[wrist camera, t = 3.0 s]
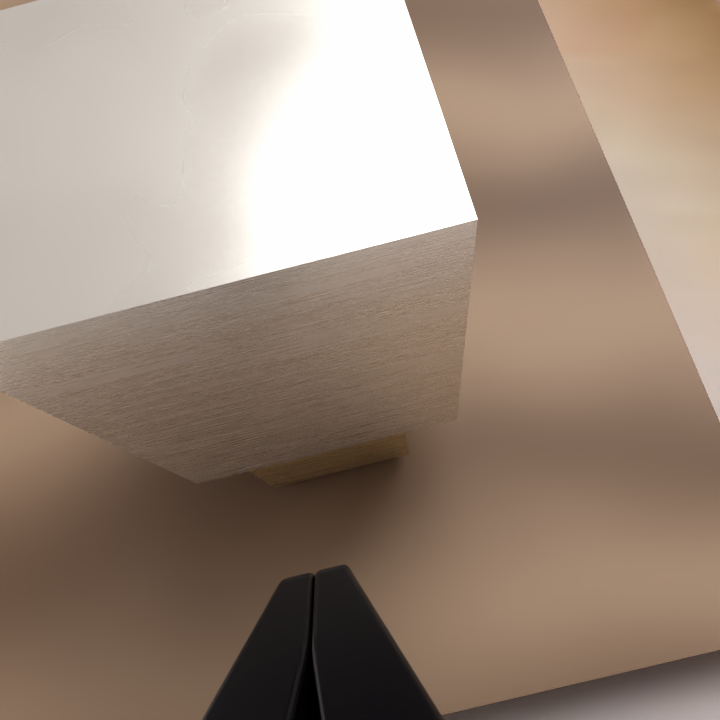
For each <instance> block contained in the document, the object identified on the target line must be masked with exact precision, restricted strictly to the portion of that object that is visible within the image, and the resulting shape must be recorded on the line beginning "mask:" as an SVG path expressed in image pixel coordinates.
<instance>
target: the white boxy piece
mask: <svg viewBox="0 0 720 720" xmlns="http://www.w3.org/2000/svg"><path fill="white" fill-rule="evenodd" d="M476 229H477V216H476V213H475V210H474V207H473V204H472V201H471V198H470V195H469V192H468V189H467V186H466V183H465V180H464V177H463V174H462V171H461V168H460V165H459V162H458V159H457V157H456V154H455V151H454V148H453V145H452V142H451V139H450V136H449V133H448V130H447V127H446V124H445V121H444V118H443V115H442V112H441V109H440V106H439V103H438V100H437V97H436V94H435V91H434V88H433V85H432V82H431V79H430V76H429V73H428V70H427V67H426V64H425V61H424V58H423V55H422V52H421V49H420V46H419V43H418V40H417V37H416V34H415V31H414V28H413V25H412V22H411V19H410V16H409V13H408V10H407V7H406V4H405V1H404V0H37V1H33V2H30V3H26V4H22V5H19V6H15V7H11V8H7V9H4V10H0V391H1V392H3V393H5V394H7V395H9V396H11V397H13V398H16V399H18V400H20V401H22V402H24V403H26V404H28V405H30V406H33V407H35V408H37V409H39V410H41V411H43V412H45V413H48V414H50V415H52V416H54V417H56V418H58V419H60V420H62V421H65V422H67V423H69V424H71V425H73V426H75V427H77V428H79V429H82V430H84V431H86V432H88V433H90V434H92V435H94V436H96V437H99V438H101V439H103V440H105V441H107V442H109V443H111V444H113V445H116V446H118V447H120V448H122V449H124V450H126V451H128V452H130V453H133V454H135V455H137V456H139V457H141V458H143V459H145V460H147V461H150V462H152V463H154V464H156V465H158V466H160V467H162V468H165V469H167V470H169V471H171V472H173V473H175V474H177V475H179V476H182V477H184V478H186V479H188V480H190V481H192V482H194V483H196V484H199V483H203V482H207V481H211V480H215V479H219V478H223V477H227V476H231V475H235V474H239V473H243V472H248V471H249V472H251V473H252V474H254V475H255V476H257V477H258V478H260V479H261V480H263V481H264V482H266V483H267V484H269V485H270V486H272V487H273V488H274V487H278V486H282V485H286V484H290V483H295V482H299V481H303V480H307V479H311V478H315V477H319V476H323V475H327V474H331V473H335V472H339V471H343V470H347V469H351V468H355V467H359V466H363V465H368V464H372V463H376V462H380V461H384V460H388V459H392V458H396V457H400V456H404V455H408V454H409V451H408V446H407V441H406V436H405V432H409V431H413V430H417V429H421V428H425V427H429V426H433V425H437V424H441V423H445V422H449V421H453V420H457V416H458V406H459V396H460V387H461V377H462V367H463V357H464V347H465V337H466V327H467V318H468V308H469V298H470V288H471V278H472V268H473V258H474V249H475V239H476Z"/></svg>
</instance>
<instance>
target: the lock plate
mask: <svg viewBox="0 0 720 720" xmlns="http://www.w3.org/2000/svg"><path fill="white" fill-rule="evenodd" d="M33 1H37V0H0V10H4V9H7V8H11V7H15V6H19V5H22V4H26V3H30V2H33ZM404 1H405V4H406V7H407V10H408V13H409V16H410V19H411V22H412V25H413V28H414V31H415V34H416V37H417V40H418V43H419V46H420V49H421V52H422V55H423V58H424V61H425V64H426V67H427V70H428V73H429V76H430V79H431V82H432V85H433V88H434V91H435V94H436V97H437V100H438V103H439V106H440V109H441V112H442V115H443V118H444V121H445V124H446V127H447V130H448V133H449V136H450V139H451V142H452V145H453V148H454V151H455V154H456V157H457V159H458V162H459V165H460V168H461V171H462V174H463V177H464V180H465V183H466V186H467V189H468V192H469V195H470V198H471V201H472V204H473V207H474V210H475V213H476V216H477V229H476V239H475V249H474V258H473V268H472V278H471V288H470V298H469V308H468V318H467V327H466V337H465V347H464V357H463V367H462V377H461V387H460V396H459V406H458V416H457V420H453V421H449V422H445V423H441V424H437V425H433V426H429V427H425V428H421V429H417V430H413V431H409V432H405V436H406V441H407V446H408V451H409V454H408V455H404V456H400V457H396V458H392V459H388V460H384V461H380V462H376V463H372V464H368V465H363V466H359V467H355V468H351V469H347V470H343V471H339V472H335V473H331V474H327V475H323V476H319V477H315V478H311V479H307V480H303V481H299V482H295V483H290V484H286V485H282V486H278V487H274V488H273V487H272V486H270V485H269V484H267V483H266V482H264V481H263V480H261V479H260V478H258V477H257V476H255V475H254V474H252V473H251V472H249V471H248V472H243V473H239V474H235V475H231V476H227V477H223V478H219V479H215V480H211V481H207V482H203V483H199V484H196V483H194V482H192V481H190V480H188V479H186V478H184V477H182V476H179V475H177V474H175V473H173V472H171V471H169V470H167V469H165V468H162V467H160V466H158V465H156V464H154V463H152V462H150V461H147V460H145V459H143V458H141V457H139V456H137V455H135V454H133V453H130V452H128V451H126V450H124V449H122V448H120V447H118V446H116V445H113V444H111V443H109V442H107V441H105V440H103V439H101V438H99V437H96V436H94V435H92V434H90V433H88V432H86V431H84V430H82V429H79V428H77V427H75V426H73V425H71V424H69V423H67V422H65V421H62V420H60V419H58V418H56V417H54V416H52V415H50V414H48V413H45V412H43V411H41V410H39V409H37V408H35V407H33V406H30V405H28V404H26V403H24V402H22V401H20V400H18V399H16V398H13V397H11V396H9V395H7V394H5V393H3V392H1V391H0V720H202V718H203V716H204V715H205V713H206V711H207V709H208V708H209V706H210V704H211V702H212V701H213V699H214V697H215V695H216V693H217V692H218V690H219V688H220V686H221V685H222V683H223V681H224V679H225V678H226V676H227V674H228V672H229V671H230V669H231V667H232V665H233V664H234V662H235V660H236V658H237V656H238V655H239V653H240V651H241V649H242V648H243V646H244V644H245V642H246V641H247V639H248V637H249V635H250V634H251V632H252V630H253V628H254V627H255V625H256V623H257V621H258V619H259V618H260V616H261V614H262V612H263V611H264V609H265V607H266V605H267V604H268V602H269V600H270V598H271V597H272V595H273V593H274V591H275V590H276V588H277V586H278V584H279V583H280V582H281V581H282V580H283V579H285V578H289V577H293V576H297V575H301V574H305V573H312V574H314V575H315V574H316V573H317V572H318V571H319V570H322V569H326V568H330V567H334V566H338V565H343V564H344V565H347V566H348V567H349V568H350V569H351V571H352V573H353V574H354V576H355V577H356V579H357V581H358V582H359V584H360V585H361V587H362V589H363V590H364V592H365V593H366V595H367V597H368V598H369V600H370V601H371V603H372V605H373V606H374V608H375V609H376V611H377V613H378V614H379V616H380V617H381V619H382V621H383V622H384V624H385V625H386V627H387V629H388V630H389V632H390V633H391V635H392V637H393V638H394V640H395V641H396V643H397V645H398V646H399V648H400V649H401V651H402V653H403V654H404V656H405V657H406V659H407V661H408V662H409V664H410V665H411V667H412V669H413V670H414V672H415V673H416V675H417V677H418V678H419V680H420V681H421V683H422V685H423V686H424V688H425V689H426V691H427V693H428V694H429V696H430V697H431V699H432V701H433V702H434V704H435V705H436V707H437V709H438V710H439V712H440V713H441V715H445V714H449V713H454V712H458V711H462V710H466V709H471V708H475V707H479V706H483V705H488V704H492V703H496V702H500V701H505V700H509V699H513V698H517V697H522V696H526V695H530V694H534V693H539V692H543V691H547V690H551V689H556V688H560V687H564V686H568V685H573V684H577V683H581V682H585V681H590V680H594V679H598V678H603V677H607V676H611V675H615V674H620V673H624V672H628V671H632V670H637V669H641V668H645V667H649V666H654V665H658V664H662V663H666V662H671V661H675V660H679V659H683V658H688V657H692V656H696V655H700V654H705V653H709V652H713V651H717V650H720V422H719V420H718V418H717V415H716V413H715V411H714V408H713V406H712V404H711V401H710V399H709V397H708V394H707V392H706V390H705V387H704V385H703V383H702V380H701V378H700V376H699V373H698V371H697V369H696V367H695V364H694V362H693V360H692V357H691V355H690V353H689V350H688V348H687V346H686V343H685V341H684V339H683V336H682V334H681V332H680V329H679V327H678V325H677V322H676V320H675V318H674V315H673V313H672V311H671V309H670V306H669V304H668V302H667V299H666V297H665V295H664V292H663V290H662V288H661V285H660V283H659V281H658V278H657V276H656V274H655V271H654V269H653V267H652V264H651V262H650V260H649V258H648V255H647V253H646V251H645V248H644V246H643V244H642V241H641V239H640V237H639V234H638V232H637V230H636V227H635V225H634V223H633V220H632V218H631V216H630V213H629V211H628V209H627V207H626V204H625V202H624V200H623V197H622V195H621V193H620V190H619V188H618V186H617V183H616V181H615V179H614V176H613V174H612V172H611V169H610V167H609V165H608V162H607V160H606V158H605V156H604V153H603V151H602V149H601V146H600V144H599V142H598V139H597V137H596V135H595V132H594V130H593V128H592V125H591V123H590V121H589V118H588V116H587V114H586V111H585V109H584V107H583V105H582V102H581V100H580V98H579V95H578V93H577V91H576V88H575V86H574V84H573V81H572V79H571V77H570V74H569V72H568V70H567V67H566V65H565V63H564V60H563V58H562V56H561V54H560V51H559V49H558V47H557V44H556V42H555V40H554V37H553V35H552V33H551V30H550V28H549V26H548V23H547V21H546V19H545V16H544V14H543V12H542V9H541V7H540V5H539V3H538V0H404Z"/></svg>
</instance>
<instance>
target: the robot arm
mask: <svg viewBox="0 0 720 720" xmlns="http://www.w3.org/2000/svg"><path fill="white" fill-rule="evenodd" d="M202 720H444V718H443V717H442V715H441V713H440V712H439V710H438V709H437V707H436V705H435V704H434V702H433V701H432V699H431V697H430V696H429V694H428V693H427V691H426V689H425V688H424V686H423V685H422V683H421V681H420V680H419V678H418V677H417V675H416V673H415V672H414V670H413V669H412V667H411V665H410V664H409V662H408V661H407V659H406V657H405V656H404V654H403V653H402V651H401V649H400V648H399V646H398V645H397V643H396V641H395V640H394V638H393V637H392V635H391V633H390V632H389V630H388V629H387V627H386V625H385V624H384V622H383V621H382V619H381V617H380V616H379V614H378V613H377V611H376V609H375V608H374V606H373V605H372V603H371V601H370V600H369V598H368V597H367V595H366V593H365V592H364V590H363V589H362V587H361V585H360V584H359V582H358V581H357V579H356V577H355V576H354V574H353V573H352V571H351V569H350V568H349V567H348V566H347V565H344V564H343V565H338V566H334V567H330V568H326V569H322V570H319V571H318V572H317V573H316V574H315V575H314V574H312V573H305V574H301V575H297V576H293V577H289V578H285V579H283V580H282V581H281V582H280V583H279V584H278V586H277V588H276V590H275V591H274V593H273V595H272V597H271V598H270V600H269V602H268V604H267V605H266V607H265V609H264V611H263V612H262V614H261V616H260V618H259V619H258V621H257V623H256V625H255V627H254V628H253V630H252V632H251V634H250V635H249V637H248V639H247V641H246V642H245V644H244V646H243V648H242V649H241V651H240V653H239V655H238V656H237V658H236V660H235V662H234V664H233V665H232V667H231V669H230V671H229V672H228V674H227V676H226V678H225V679H224V681H223V683H222V685H221V686H220V688H219V690H218V692H217V693H216V695H215V697H214V699H213V701H212V702H211V704H210V706H209V708H208V709H207V711H206V713H205V715H204V716H203V718H202Z"/></svg>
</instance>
